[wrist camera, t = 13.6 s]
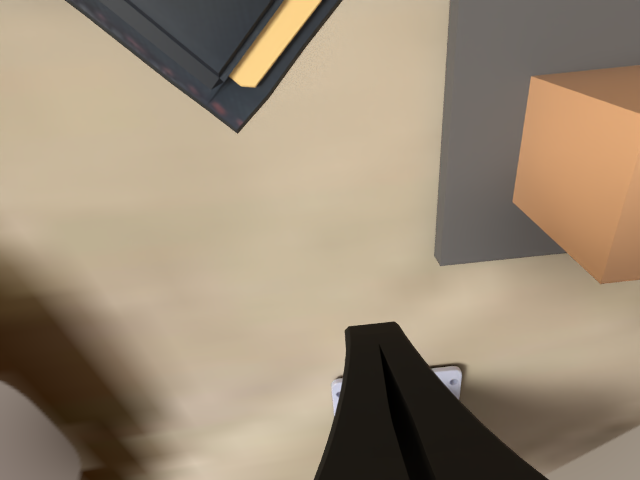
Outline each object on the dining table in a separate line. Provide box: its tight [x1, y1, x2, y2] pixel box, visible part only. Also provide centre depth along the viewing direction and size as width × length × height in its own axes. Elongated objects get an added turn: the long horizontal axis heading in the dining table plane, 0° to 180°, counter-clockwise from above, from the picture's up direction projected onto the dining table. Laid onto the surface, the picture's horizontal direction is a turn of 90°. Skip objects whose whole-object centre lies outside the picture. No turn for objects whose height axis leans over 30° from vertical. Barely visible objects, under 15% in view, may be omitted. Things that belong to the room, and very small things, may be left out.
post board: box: [434, 0, 640, 266], centre depth 17 cm, size 12×12×6 cm
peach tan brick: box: [512, 65, 640, 284], centre depth 16 cm, size 6×6×7 cm
